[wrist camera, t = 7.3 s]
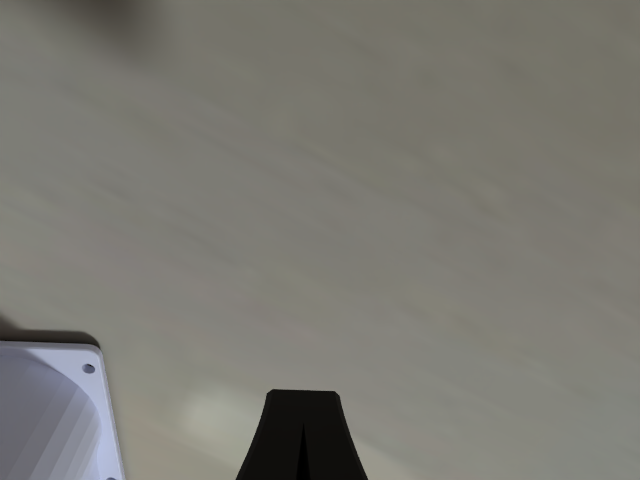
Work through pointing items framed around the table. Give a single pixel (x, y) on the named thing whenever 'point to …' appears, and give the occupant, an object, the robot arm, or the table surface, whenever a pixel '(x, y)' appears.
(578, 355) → the table surface
